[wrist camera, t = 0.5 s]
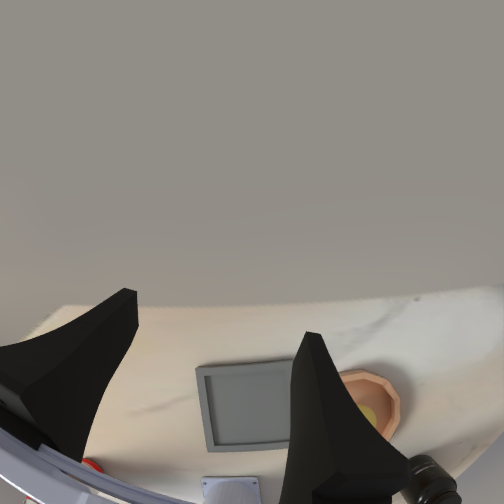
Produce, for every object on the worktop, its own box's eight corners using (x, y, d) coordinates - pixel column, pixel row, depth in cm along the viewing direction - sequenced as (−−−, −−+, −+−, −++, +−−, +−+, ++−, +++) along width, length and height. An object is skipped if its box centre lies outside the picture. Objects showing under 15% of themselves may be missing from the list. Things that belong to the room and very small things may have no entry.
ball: (370, 429, 34) (381, 443, 29) (333, 436, 34) (341, 452, 29) (369, 396, 35) (381, 407, 30) (332, 403, 35) (340, 415, 30)
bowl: (393, 443, 34) (399, 449, 32) (306, 461, 34) (307, 468, 32) (393, 362, 36) (399, 364, 34) (299, 378, 37) (301, 382, 34)
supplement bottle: (417, 446, 33) (455, 481, 22) (440, 464, 32) (477, 497, 20) (384, 479, 33) (412, 521, 21) (408, 495, 32) (438, 534, 20)
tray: (299, 442, 35) (300, 446, 34) (209, 448, 36) (207, 452, 34) (292, 358, 37) (293, 360, 36) (197, 366, 38) (195, 368, 36)
